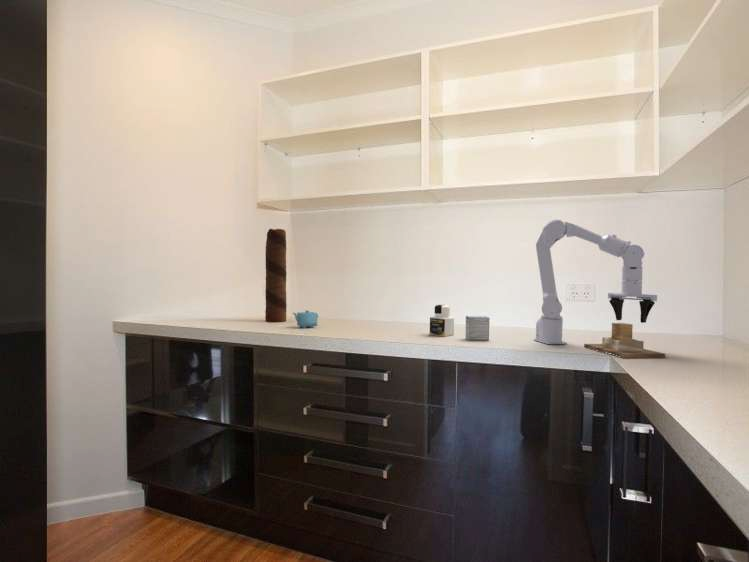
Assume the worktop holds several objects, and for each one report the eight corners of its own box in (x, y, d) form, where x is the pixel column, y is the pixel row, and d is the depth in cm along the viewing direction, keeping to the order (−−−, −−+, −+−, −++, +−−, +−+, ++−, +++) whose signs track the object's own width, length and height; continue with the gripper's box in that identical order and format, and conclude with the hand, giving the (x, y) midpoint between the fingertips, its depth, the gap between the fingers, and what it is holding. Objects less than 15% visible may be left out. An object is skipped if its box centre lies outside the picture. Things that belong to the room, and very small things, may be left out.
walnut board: (584, 347, 138) (584, 335, 138) (621, 347, 140) (621, 334, 140) (623, 358, 121) (623, 344, 121) (665, 357, 123) (665, 343, 122)
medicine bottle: (429, 334, 163) (429, 304, 162) (439, 333, 168) (439, 304, 168) (444, 336, 158) (444, 306, 158) (454, 334, 163) (454, 305, 163)
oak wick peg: (611, 347, 132) (611, 323, 132) (621, 347, 133) (622, 322, 133) (621, 349, 128) (621, 324, 128) (631, 349, 129) (632, 324, 129)
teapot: (293, 329, 173) (293, 311, 173) (289, 327, 178) (289, 310, 178) (320, 327, 178) (320, 310, 178) (315, 326, 184) (315, 309, 184)
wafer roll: (266, 322, 192) (267, 227, 191) (263, 320, 202) (264, 230, 201) (288, 322, 196) (289, 229, 195) (284, 319, 206) (285, 231, 205)
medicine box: (485, 338, 155) (486, 316, 154) (489, 340, 150) (489, 317, 150) (465, 338, 154) (465, 315, 154) (468, 340, 150) (468, 317, 150)
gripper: (603, 280, 140) (602, 319, 140) (650, 281, 128) (649, 324, 128) (614, 280, 144) (613, 318, 144) (660, 281, 132) (659, 323, 132)
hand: (630, 321), depth 136 cm, fingers open, 7 cm apart
